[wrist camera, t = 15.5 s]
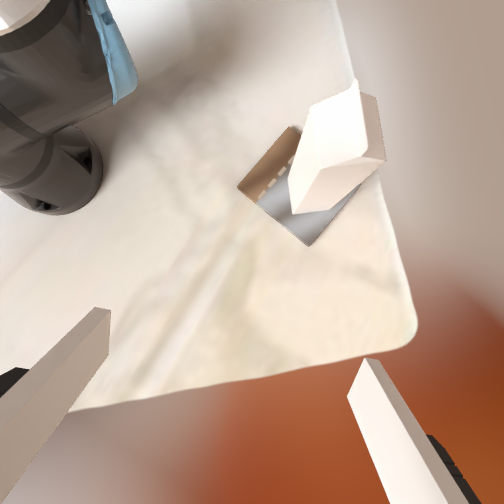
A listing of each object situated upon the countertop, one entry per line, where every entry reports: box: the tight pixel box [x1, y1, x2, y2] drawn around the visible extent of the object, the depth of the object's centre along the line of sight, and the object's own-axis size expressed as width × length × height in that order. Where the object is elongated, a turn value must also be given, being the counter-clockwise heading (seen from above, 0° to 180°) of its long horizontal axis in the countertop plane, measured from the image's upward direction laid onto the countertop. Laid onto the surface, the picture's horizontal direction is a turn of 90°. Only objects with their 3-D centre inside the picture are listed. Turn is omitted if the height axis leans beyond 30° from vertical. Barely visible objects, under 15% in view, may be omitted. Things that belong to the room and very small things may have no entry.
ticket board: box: [237, 127, 361, 247], centre depth 43 cm, size 15×13×1 cm
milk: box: [287, 78, 386, 214], centre depth 32 cm, size 6×6×22 cm
